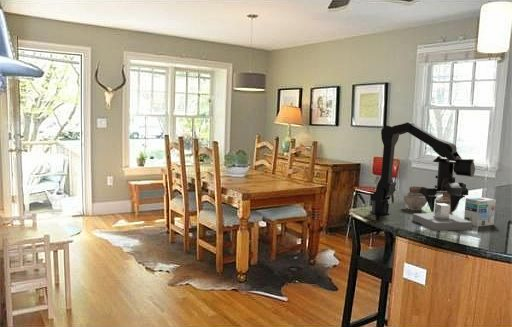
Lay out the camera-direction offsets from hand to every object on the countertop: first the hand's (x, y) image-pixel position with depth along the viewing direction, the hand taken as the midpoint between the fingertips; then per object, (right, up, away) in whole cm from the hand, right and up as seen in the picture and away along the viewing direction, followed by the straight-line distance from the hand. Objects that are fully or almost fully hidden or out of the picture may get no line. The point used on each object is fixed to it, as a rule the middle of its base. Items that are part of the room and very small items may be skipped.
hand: (442, 211), depth 175 cm
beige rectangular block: (0, -5, +1) cm, 5 cm away
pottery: (+5, -3, +26) cm, 27 cm away
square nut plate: (0, -5, +1) cm, 6 cm away
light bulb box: (+17, -6, +5) cm, 19 cm away
